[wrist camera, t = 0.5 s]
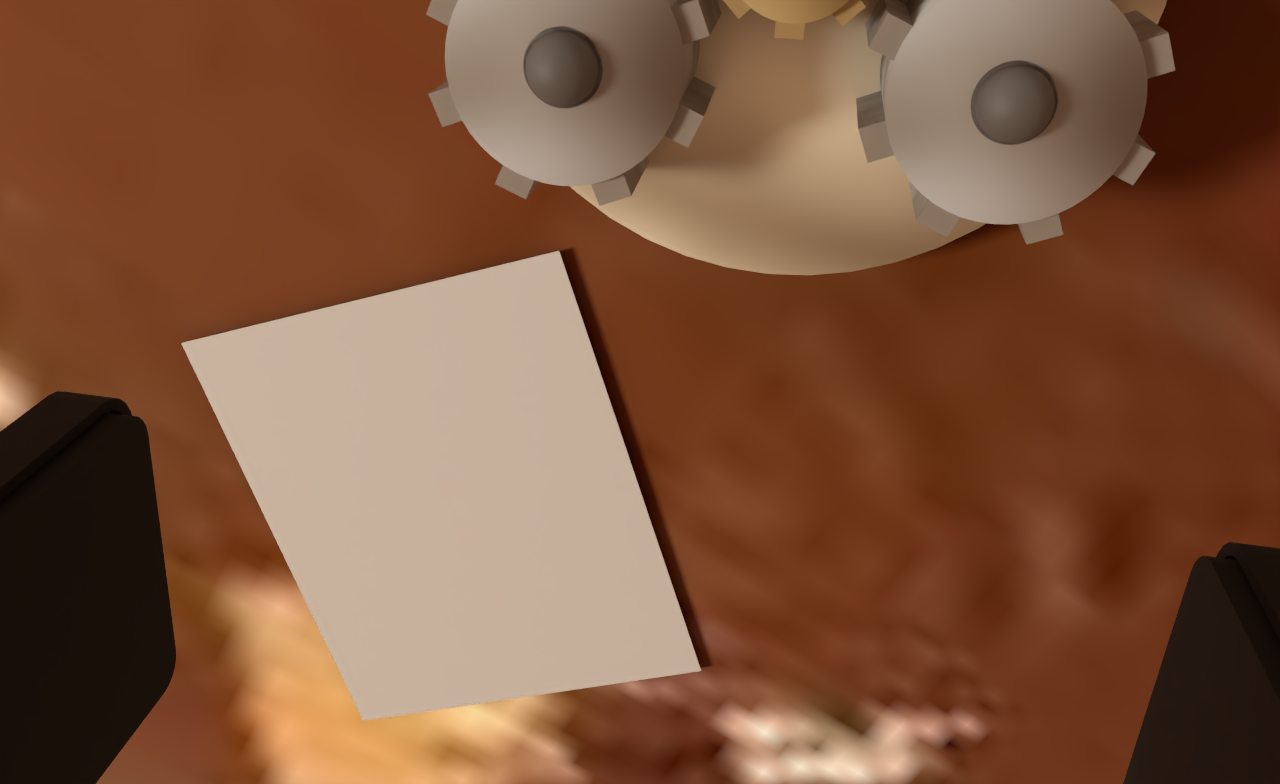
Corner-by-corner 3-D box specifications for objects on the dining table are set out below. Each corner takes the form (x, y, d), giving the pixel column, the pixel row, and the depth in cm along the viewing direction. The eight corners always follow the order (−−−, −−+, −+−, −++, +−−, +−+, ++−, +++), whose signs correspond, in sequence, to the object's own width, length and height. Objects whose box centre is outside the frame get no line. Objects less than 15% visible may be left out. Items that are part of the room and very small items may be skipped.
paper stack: (857, 169, 37) (857, 176, 36) (1001, 796, 46) (1004, 810, 46) (190, 335, 42) (180, 343, 42) (441, 861, 52) (436, 874, 51)
